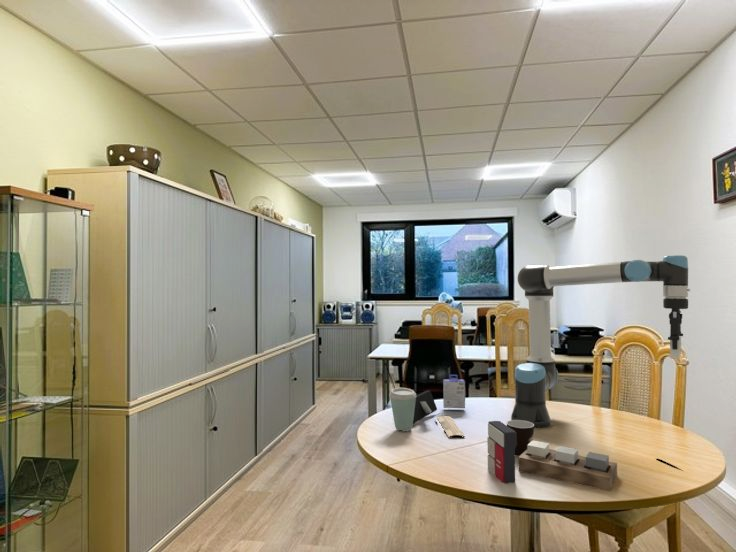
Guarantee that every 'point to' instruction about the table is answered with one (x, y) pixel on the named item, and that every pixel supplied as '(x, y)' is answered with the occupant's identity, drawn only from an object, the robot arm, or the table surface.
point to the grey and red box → (501, 451)
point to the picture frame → (424, 405)
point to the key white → (538, 449)
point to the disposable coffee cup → (403, 407)
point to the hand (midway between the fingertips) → (675, 356)
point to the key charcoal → (597, 461)
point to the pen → (668, 464)
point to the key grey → (566, 455)
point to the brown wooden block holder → (568, 470)
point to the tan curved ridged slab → (449, 426)
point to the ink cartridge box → (453, 393)
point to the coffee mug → (522, 434)
